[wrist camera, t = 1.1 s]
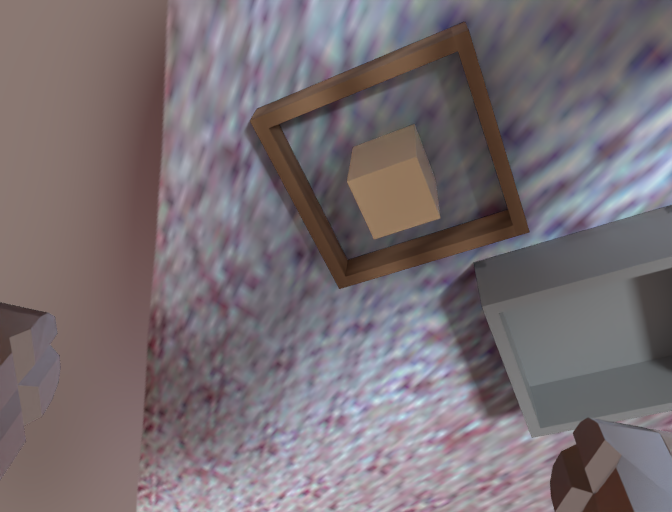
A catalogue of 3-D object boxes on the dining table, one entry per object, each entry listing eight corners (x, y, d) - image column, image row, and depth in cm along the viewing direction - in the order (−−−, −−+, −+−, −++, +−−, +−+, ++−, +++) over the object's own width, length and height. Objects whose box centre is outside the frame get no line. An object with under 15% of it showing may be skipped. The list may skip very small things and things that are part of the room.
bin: (677, 203, 44) (712, 245, 39) (697, 349, 52) (729, 399, 47) (473, 262, 49) (481, 306, 44) (520, 388, 56) (531, 437, 52)
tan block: (414, 123, 43) (416, 156, 38) (436, 180, 45) (440, 218, 40) (352, 146, 44) (346, 181, 39) (376, 200, 46) (374, 239, 41)
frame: (464, 21, 38) (468, 29, 36) (523, 216, 46) (529, 232, 44) (257, 108, 43) (249, 120, 41) (341, 272, 51) (339, 289, 49)
